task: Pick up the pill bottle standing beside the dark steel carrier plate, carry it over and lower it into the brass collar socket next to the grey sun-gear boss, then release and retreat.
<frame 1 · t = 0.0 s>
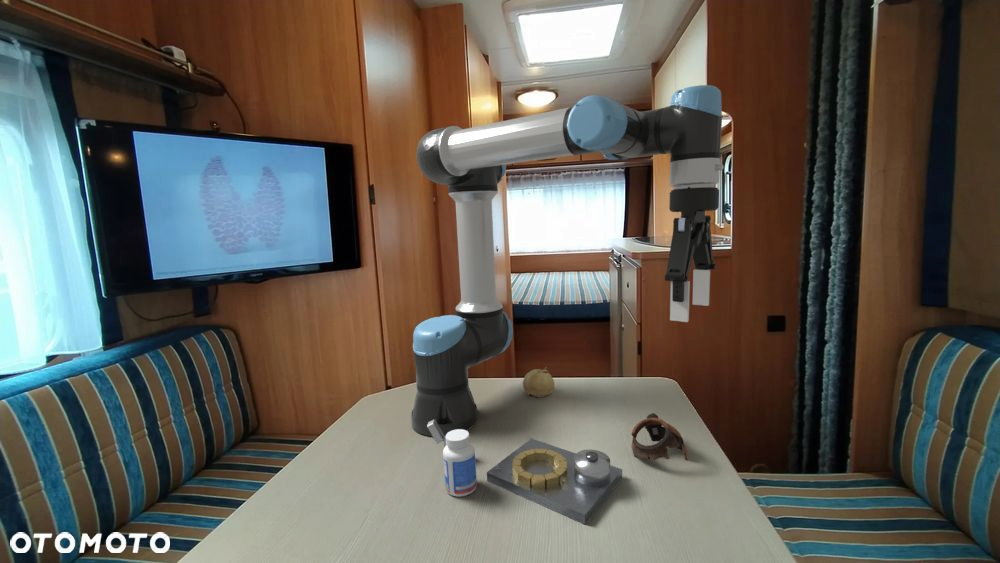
hand: (690, 312, 75), 28 cm above the table, fingers open, 13 cm apart
carrier plate: (554, 479, 76), on the table
pottery mug: (658, 455, 82), on the table
pill bottle: (461, 488, 74), on the table
lighter: (448, 460, 83), on the table
onion: (538, 394, 112), on the table
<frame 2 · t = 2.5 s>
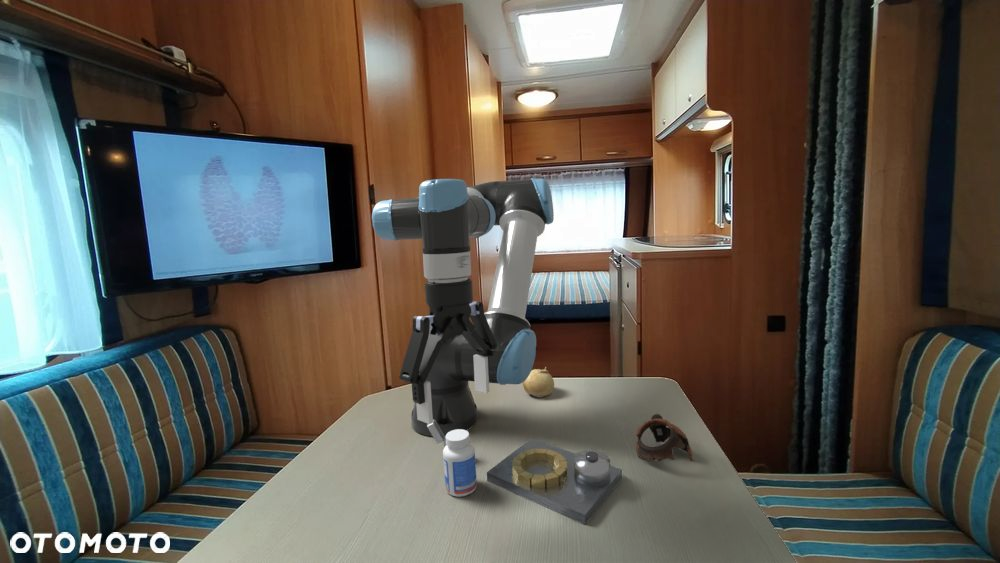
hand: (455, 405, 72), 15 cm above the table, fingers open, 13 cm apart
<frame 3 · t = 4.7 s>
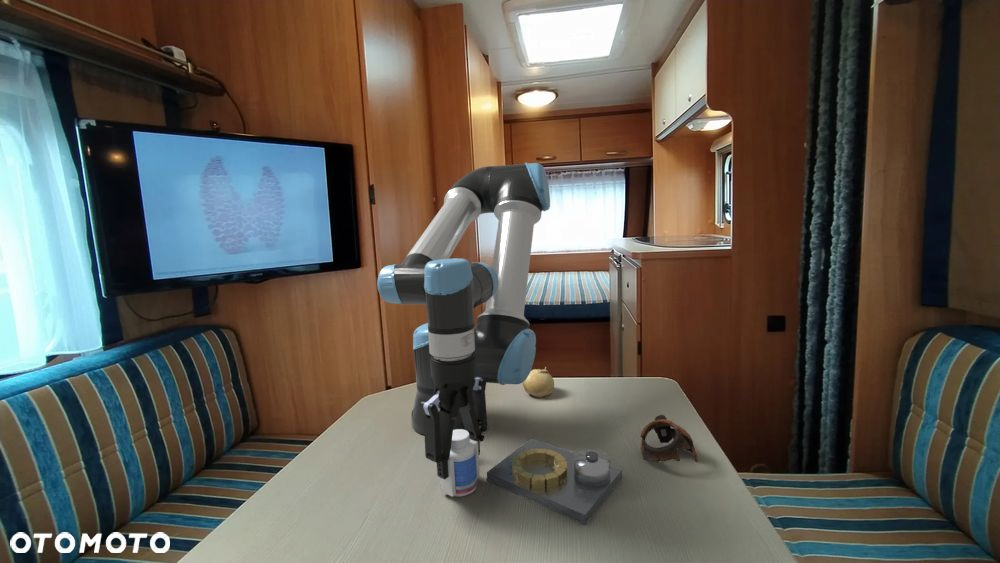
hand: (460, 483, 74), 1 cm above the table, fingers closed on pill bottle, 5 cm apart
pill bottle: (461, 488, 74), on the table, touching gripper
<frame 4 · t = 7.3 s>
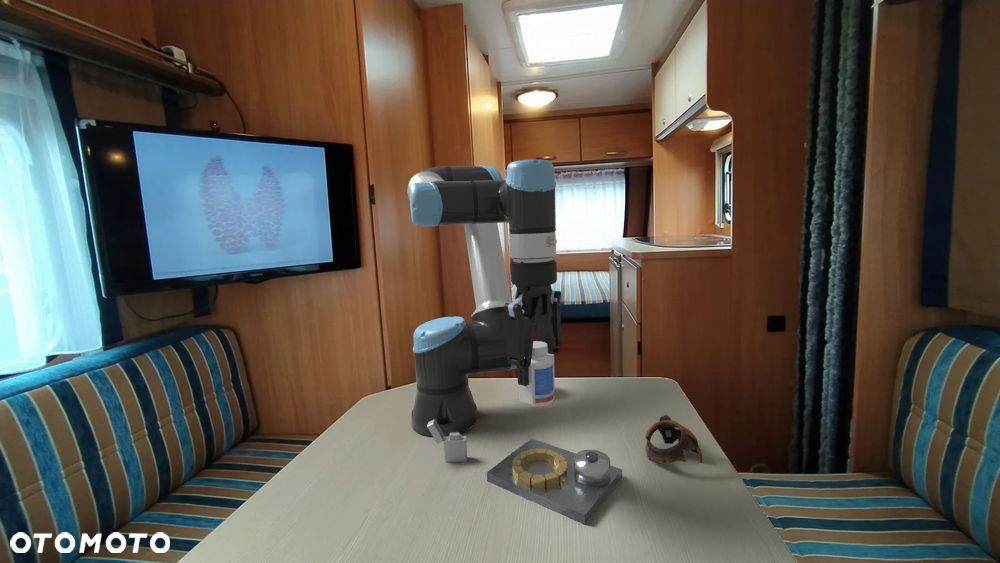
hand: (537, 395, 73), 16 cm above the table, fingers closed on pill bottle, 5 cm apart
pill bottle: (537, 401, 73), point 15 cm above the table, touching gripper
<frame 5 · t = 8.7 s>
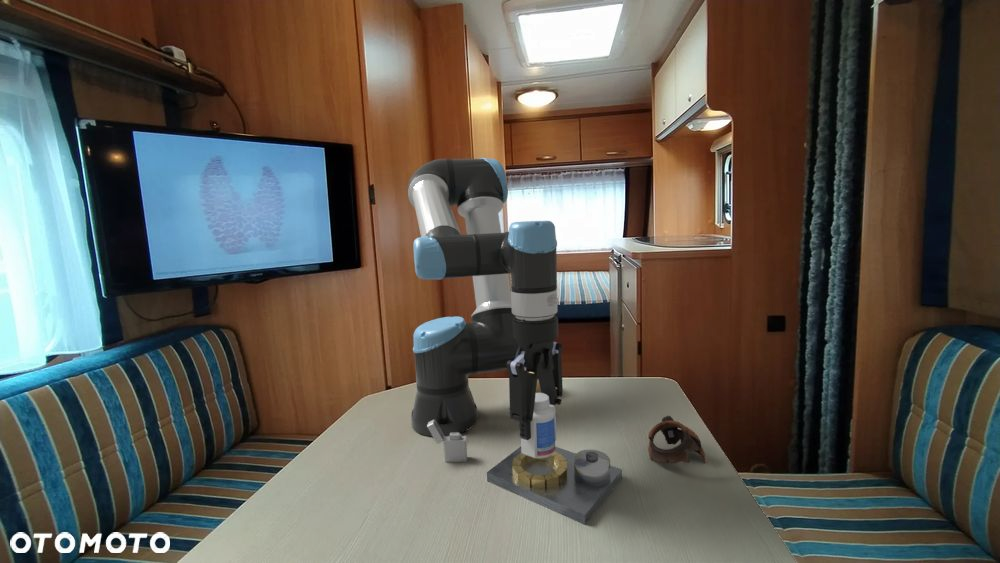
hand: (539, 446, 75), 6 cm above the table, fingers closed on pill bottle, 5 cm apart
pill bottle: (539, 451, 75), point 5 cm above the table, touching gripper
when the fingers open (4 cm above the table, at t = 10.0 s): pill bottle drops 1 cm, resting on carrier plate.
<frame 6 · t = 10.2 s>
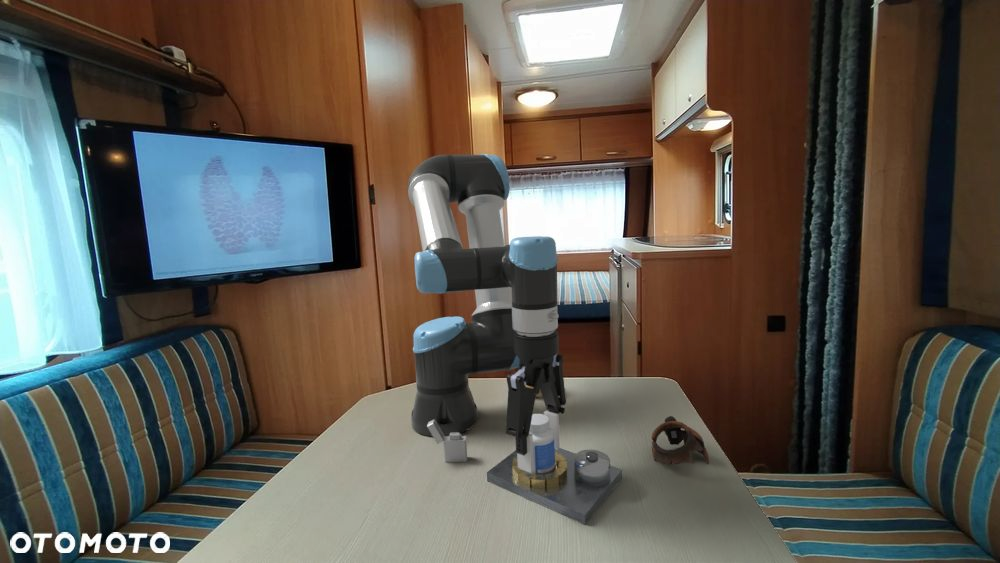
hand: (539, 457, 75), 4 cm above the table, fingers open, 8 cm apart
pill bottle: (539, 471, 75), point 1 cm above the table, touching carrier plate
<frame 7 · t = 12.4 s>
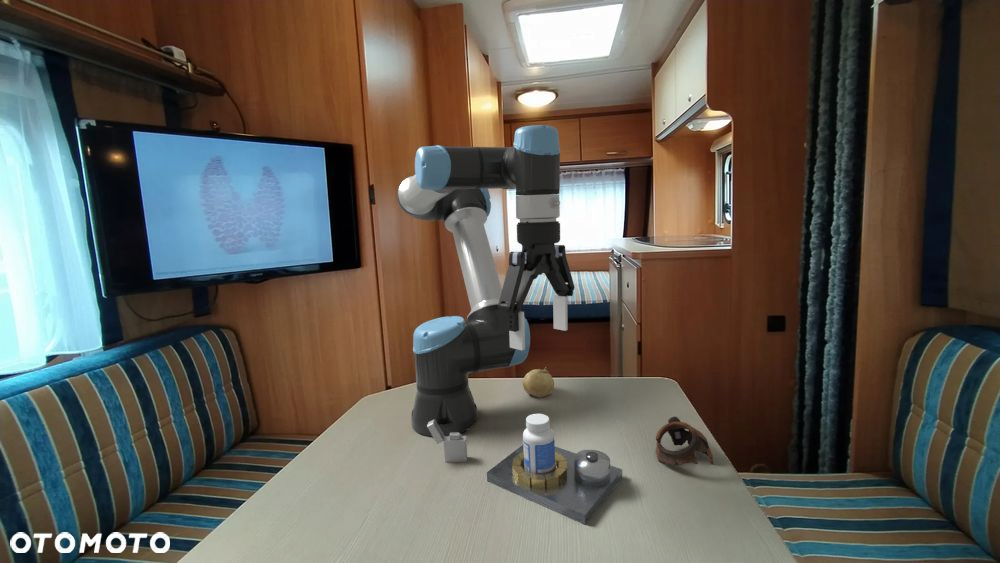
hand: (540, 338, 78), 24 cm above the table, fingers open, 13 cm apart
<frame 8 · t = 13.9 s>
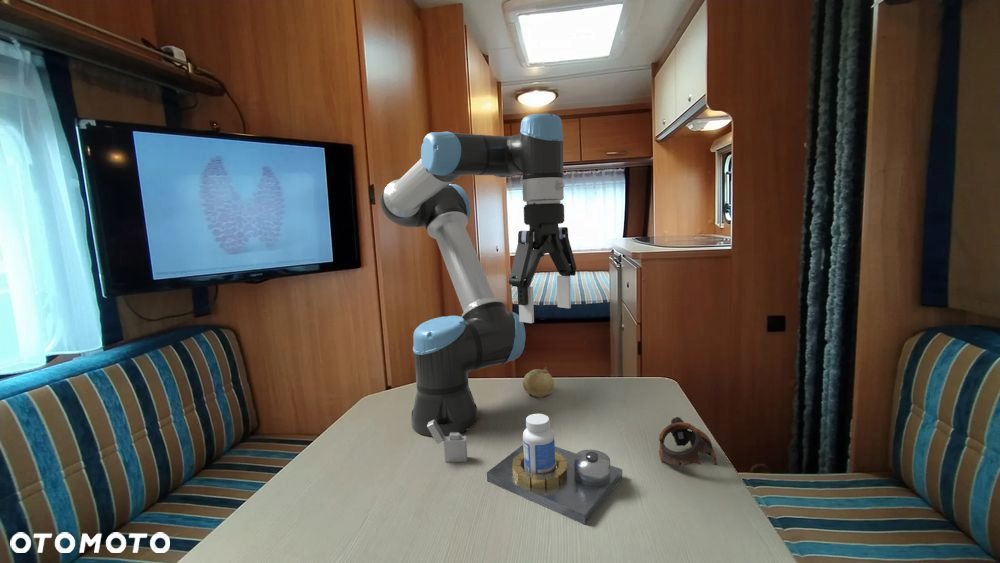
hand: (546, 314, 84), 27 cm above the table, fingers open, 13 cm apart
at the end: pill bottle 0.0 cm from the target spot, point 1.4 cm above the table; pill bottle tilted 0°; the gripper is holding nothing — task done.
